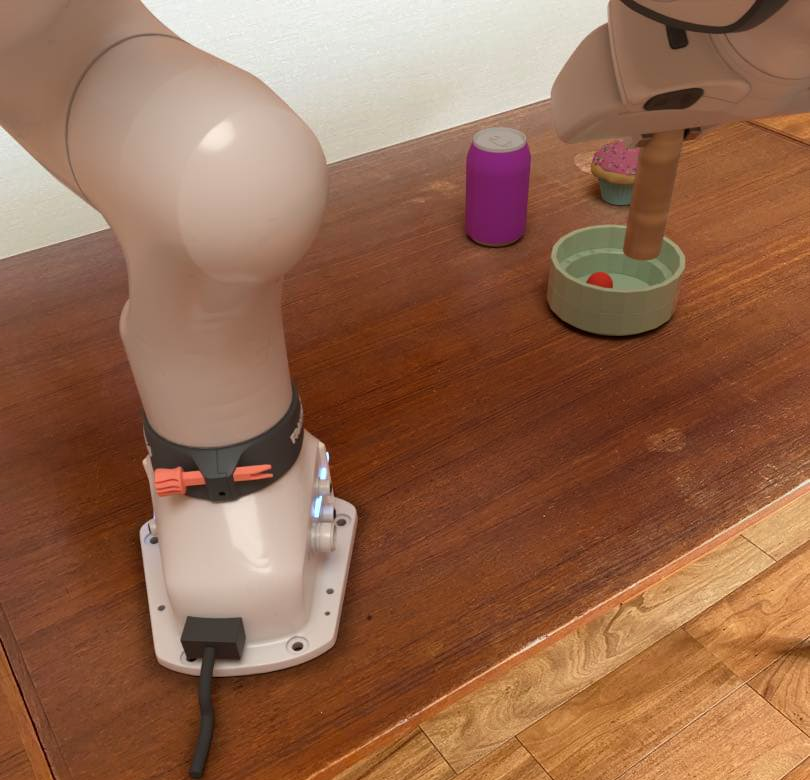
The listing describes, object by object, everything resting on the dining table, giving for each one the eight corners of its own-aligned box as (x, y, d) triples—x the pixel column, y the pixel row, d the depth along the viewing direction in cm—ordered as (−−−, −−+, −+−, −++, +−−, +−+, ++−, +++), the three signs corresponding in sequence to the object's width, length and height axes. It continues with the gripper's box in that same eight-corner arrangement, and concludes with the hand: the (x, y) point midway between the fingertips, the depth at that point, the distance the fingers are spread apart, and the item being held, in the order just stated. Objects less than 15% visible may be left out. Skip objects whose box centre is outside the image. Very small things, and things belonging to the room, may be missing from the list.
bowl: (691, 335, 93) (704, 285, 89) (562, 346, 93) (568, 297, 88) (652, 267, 103) (662, 219, 99) (535, 277, 102) (539, 229, 98)
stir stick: (664, 259, 70) (710, 40, 58) (627, 262, 69) (666, 42, 58) (654, 241, 72) (696, 25, 60) (618, 243, 72) (653, 28, 60)
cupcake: (629, 178, 119) (644, 85, 110) (665, 204, 114) (684, 109, 105) (575, 191, 117) (585, 98, 108) (608, 218, 111) (623, 122, 103)
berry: (597, 306, 96) (620, 289, 95) (582, 283, 95) (606, 266, 94) (592, 304, 99) (615, 287, 98) (578, 282, 98) (601, 265, 97)
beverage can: (452, 233, 110) (453, 136, 101) (497, 214, 113) (502, 119, 104) (492, 256, 106) (496, 158, 97) (538, 236, 109) (546, 139, 100)
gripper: (911, -43, 52) (779, 75, 66) (588, -9, 49) (521, 107, 63) (927, 63, 52) (793, 159, 66) (607, 103, 49) (537, 194, 63)
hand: (658, 134), depth 64 cm, fingers closed on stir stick, 3 cm apart
